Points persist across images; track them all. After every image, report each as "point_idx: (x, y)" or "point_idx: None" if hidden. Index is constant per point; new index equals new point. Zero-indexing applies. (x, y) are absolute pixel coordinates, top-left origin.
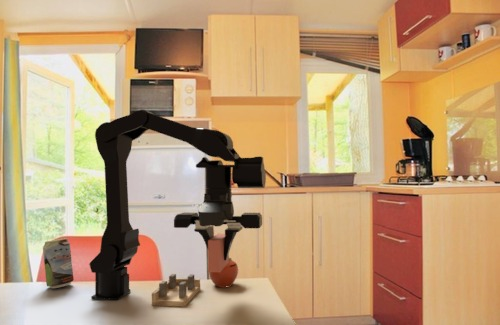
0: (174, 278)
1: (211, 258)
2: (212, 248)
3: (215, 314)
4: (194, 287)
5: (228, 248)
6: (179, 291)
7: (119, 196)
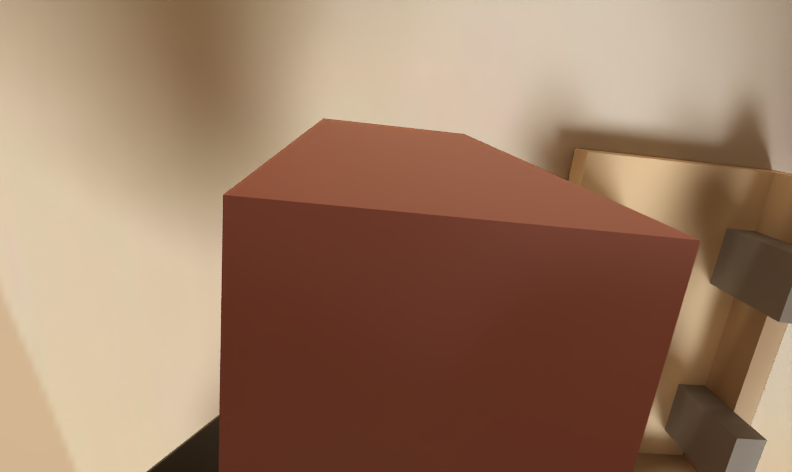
0: (712, 445)
1: (452, 147)
2: (468, 168)
3: (359, 3)
4: None
5: (172, 454)
6: None
7: None
